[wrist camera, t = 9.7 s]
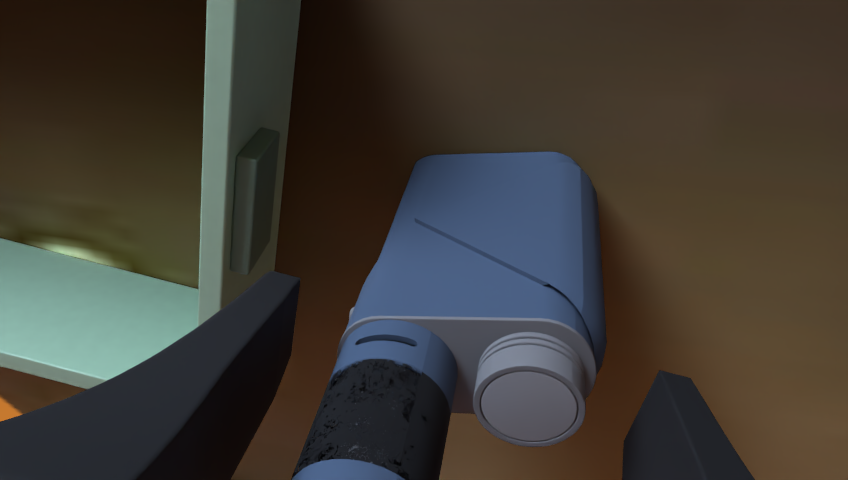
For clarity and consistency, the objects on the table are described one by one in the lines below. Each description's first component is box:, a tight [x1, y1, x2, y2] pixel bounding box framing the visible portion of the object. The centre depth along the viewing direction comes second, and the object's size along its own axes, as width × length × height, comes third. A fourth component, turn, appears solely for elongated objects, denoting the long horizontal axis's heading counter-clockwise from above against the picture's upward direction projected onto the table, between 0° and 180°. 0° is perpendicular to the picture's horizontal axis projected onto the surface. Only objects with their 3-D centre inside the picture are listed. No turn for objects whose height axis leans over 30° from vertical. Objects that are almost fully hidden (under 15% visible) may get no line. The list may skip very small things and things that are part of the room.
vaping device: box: [291, 152, 607, 480], centre depth 15 cm, size 3×5×12 cm, turn 96°
